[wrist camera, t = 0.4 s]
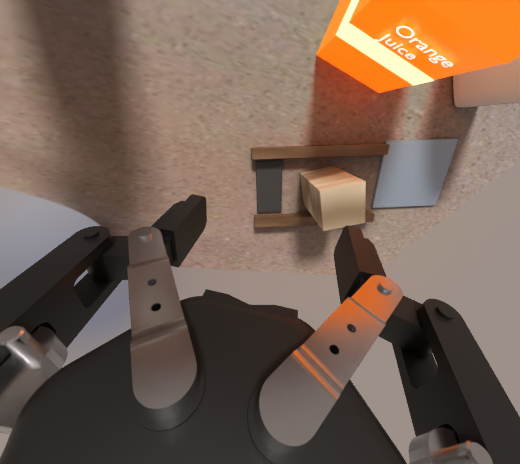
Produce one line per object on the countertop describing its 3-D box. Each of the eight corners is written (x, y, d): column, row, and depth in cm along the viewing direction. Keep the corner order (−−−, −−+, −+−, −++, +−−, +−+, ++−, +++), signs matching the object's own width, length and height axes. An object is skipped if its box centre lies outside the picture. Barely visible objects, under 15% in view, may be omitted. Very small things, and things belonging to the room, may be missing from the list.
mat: (384, 140, 28) (386, 141, 28) (456, 138, 29) (458, 138, 28) (371, 206, 32) (372, 207, 32) (433, 204, 33) (435, 205, 32)
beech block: (300, 172, 30) (320, 191, 22) (333, 165, 30) (365, 181, 21) (303, 203, 32) (323, 231, 24) (334, 197, 31) (365, 222, 23)
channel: (251, 147, 28) (251, 148, 26) (382, 143, 29) (389, 144, 27) (254, 222, 32) (254, 227, 31) (367, 217, 33) (372, 221, 32)
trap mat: (255, 161, 29) (255, 161, 28) (281, 160, 29) (282, 160, 29) (257, 211, 32) (257, 212, 31) (280, 210, 32) (281, 211, 32)
